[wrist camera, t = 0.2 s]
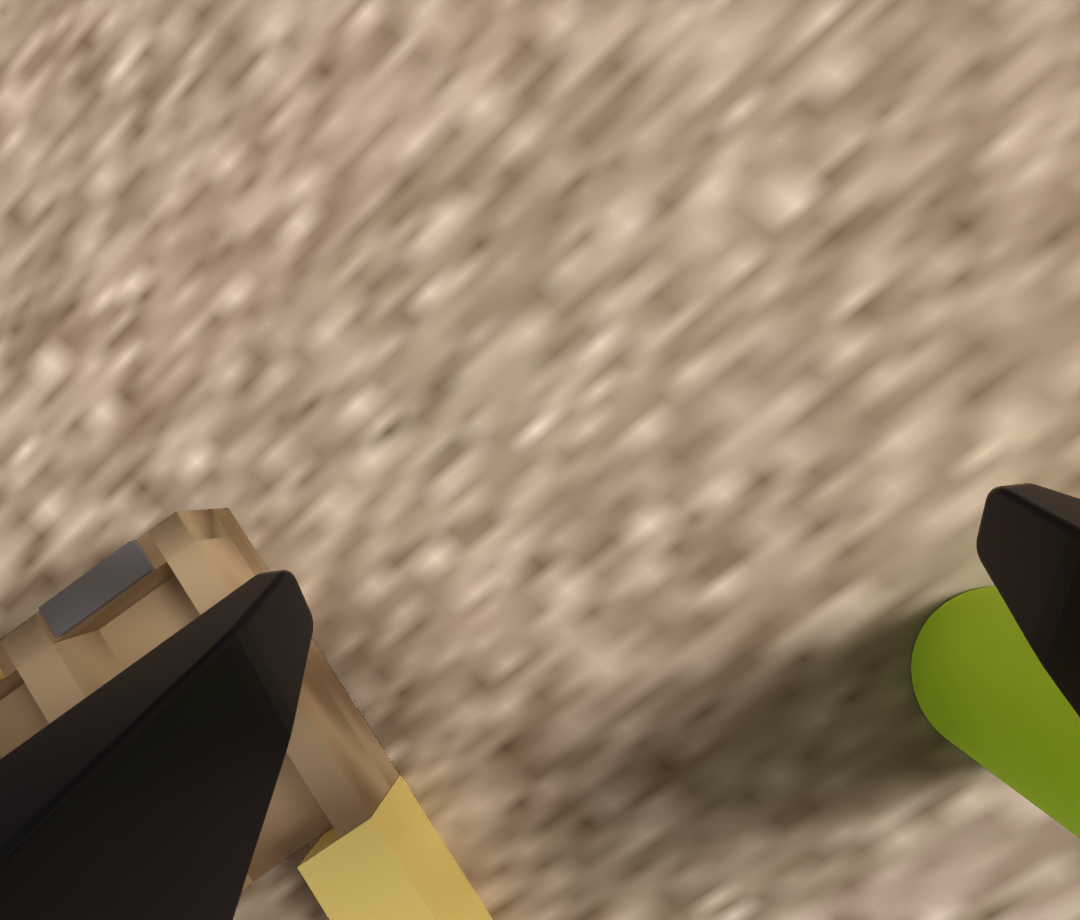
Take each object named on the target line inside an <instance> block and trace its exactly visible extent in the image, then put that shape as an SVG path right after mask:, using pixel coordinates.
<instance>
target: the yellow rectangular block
mask: <svg viewBox="0 0 1080 920" xmlns="http://www.w3.org/2000/svg"><path fill="white" fill-rule="evenodd" d="M297 868H298V870H299V871H300V873H301V874H302V876H303V878H304V879H305V881H306V882H307V884H308V886H309V887H310V889H311V891H312V892H313V894H314V895H315V897H316V899H317V900H318V902H319V904H320V905H321V907H322V908H323V910H324V912H325V913H326V915H327V917H328V918H329V920H493V919H492V917H491V916H490V914H489V913H488V911H487V910H486V908H485V907H484V905H483V903H482V902H481V900H480V899H479V897H478V896H477V894H476V892H475V891H474V889H473V888H472V886H471V885H470V883H469V882H468V880H467V878H466V877H465V875H464V874H463V872H462V871H461V869H460V868H459V866H458V864H457V863H456V861H455V860H454V858H453V857H452V855H451V853H450V852H449V850H448V849H447V847H446V846H445V844H444V843H443V841H442V839H441V838H440V836H439V835H438V833H437V832H436V830H435V829H434V827H433V825H432V824H431V822H430V821H429V819H428V818H427V816H426V814H425V813H424V811H423V810H422V808H421V807H420V805H419V804H418V802H417V800H416V799H415V797H414V796H413V794H412V793H411V791H410V790H409V788H408V786H407V785H406V783H405V782H404V780H403V779H402V777H401V776H400V775H399V776H398V777H397V779H396V780H395V782H394V783H393V785H392V786H391V788H390V789H389V791H388V792H387V793H386V795H385V796H384V798H383V799H382V801H381V802H380V804H379V805H378V807H377V808H376V810H375V811H374V813H373V814H372V816H371V817H370V818H369V819H368V820H366V821H365V822H363V823H362V824H360V825H359V826H357V827H356V828H354V829H353V830H351V831H350V832H348V833H347V834H345V835H344V836H342V837H341V838H340V837H339V835H338V834H337V832H336V830H335V829H334V827H332V828H330V829H329V830H327V831H326V832H325V833H324V834H323V835H322V836H321V838H320V839H319V840H318V842H317V843H316V844H315V845H314V847H313V848H312V849H311V851H310V852H309V853H308V854H307V856H306V857H305V858H304V859H303V861H302V862H301V863H300V865H299V866H298V867H297Z"/></svg>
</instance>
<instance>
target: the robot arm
mask: <svg viewBox="0 0 1080 920" xmlns="http://www.w3.org/2000/svg"><path fill="white" fill-rule="evenodd" d="M977 552H978V555H979V558H980V560H981V562H982V564H983V566H984V568H985V569H986V571H987V573H988V574H989V576H990V578H991V580H992V581H993V583H994V585H995V586H996V588H997V590H998V592H999V593H1000V595H1001V597H1002V598H1003V600H1004V602H1005V604H1006V605H1007V607H1008V609H1009V610H1010V612H1011V614H1012V616H1013V617H1014V619H1015V621H1016V622H1017V624H1018V626H1019V628H1020V629H1021V631H1022V633H1023V634H1024V636H1025V638H1026V640H1027V641H1028V643H1029V645H1030V646H1031V648H1032V650H1033V651H1034V653H1035V655H1036V656H1037V658H1038V659H1039V661H1040V662H1041V664H1042V666H1043V667H1044V669H1045V670H1046V671H1047V673H1048V674H1049V676H1050V677H1051V679H1052V680H1053V682H1054V683H1055V684H1056V686H1057V687H1058V689H1059V690H1060V691H1061V693H1062V694H1063V695H1064V697H1065V698H1066V700H1067V701H1068V702H1069V704H1070V705H1071V706H1072V708H1073V709H1074V710H1075V712H1076V713H1077V715H1078V716H1079V717H1080V499H1079V498H1075V497H1072V496H1069V495H1066V494H1063V493H1060V492H1057V491H1054V490H1051V489H1048V488H1044V487H1041V486H1038V485H1035V484H1028V483H1025V484H1016V485H1008V486H999V487H996V488H994V489H992V490H991V491H990V493H989V494H988V496H987V498H986V502H985V506H984V511H983V515H982V519H981V523H980V528H979V532H978V536H977ZM312 634H313V619H312V615H311V612H310V610H309V607H308V605H307V603H306V601H305V598H304V596H303V594H302V591H301V589H300V587H299V585H298V582H297V580H296V578H295V576H294V575H293V574H292V573H291V572H289V571H287V570H281V571H272V572H264V573H259V574H257V575H255V576H254V577H252V578H251V579H250V580H248V581H247V582H245V583H244V584H243V585H241V586H240V587H238V588H237V589H236V590H234V591H233V592H232V593H230V594H229V595H227V596H226V597H225V598H223V599H222V600H220V601H219V602H218V603H216V604H215V605H213V606H212V607H211V608H209V609H208V610H207V611H205V612H204V613H202V614H201V615H200V616H198V617H197V618H195V619H194V620H193V621H191V622H190V623H188V624H187V625H186V626H184V627H183V628H182V629H180V630H179V631H177V632H176V633H175V634H173V635H172V636H170V637H169V638H168V639H166V640H165V641H163V642H162V643H161V644H159V645H158V646H157V647H155V648H154V649H152V650H151V651H150V652H148V653H147V654H145V655H144V656H143V657H141V658H140V659H138V660H137V661H136V662H134V663H133V664H131V665H130V666H129V667H127V668H126V669H125V670H123V671H122V672H120V673H119V674H118V675H116V676H115V677H113V678H112V679H111V680H109V681H108V682H106V683H105V684H104V685H102V686H101V687H100V688H98V689H97V690H95V691H94V692H93V693H91V694H90V695H88V696H87V697H86V698H84V699H83V700H81V701H80V702H79V703H77V704H76V705H75V706H73V707H72V708H70V709H69V710H68V711H66V712H65V713H63V714H62V715H61V716H59V717H58V718H56V719H55V720H54V721H52V722H51V723H50V724H48V725H47V726H45V727H44V728H43V729H41V730H40V731H38V732H37V733H36V734H34V735H33V736H31V737H30V738H29V739H27V740H26V741H24V742H23V743H22V744H20V745H19V746H18V747H16V748H15V749H13V750H12V751H11V752H9V753H8V754H6V755H5V756H4V757H2V758H1V759H0V920H233V917H234V914H235V911H236V908H237V905H238V902H239V899H240V895H241V892H242V889H243V886H244V883H245V880H246V877H247V874H248V870H249V867H250V864H251V861H252V858H253V855H254V852H255V849H256V845H257V842H258V839H259V836H260V833H261V830H262V827H263V824H264V820H265V817H266V814H267V811H268V808H269V805H270V802H271V799H272V795H273V792H274V789H275V786H276V783H277V780H278V777H279V774H280V770H281V767H282V764H283V761H284V758H285V755H286V751H287V748H288V745H289V741H290V738H291V734H292V730H293V725H294V721H295V717H296V712H297V707H298V702H299V697H300V692H301V688H302V683H303V678H304V673H305V668H306V663H307V658H308V654H309V649H310V644H311V639H312Z"/></svg>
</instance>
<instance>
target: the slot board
mask: <svg viewBox="0 0 1080 920" xmlns="http://www.w3.org/2000/svg"><path fill="white" fill-rule="evenodd" d="M264 572H269V571H268V569H267V568H266V566H265V565H264V563H263V562H262V560H261V559H260V557H259V555H258V554H257V552H256V551H255V549H254V548H253V546H252V544H251V543H250V541H249V540H248V538H247V537H246V535H245V534H244V532H243V530H242V529H241V527H240V526H239V524H238V523H237V521H236V520H235V518H234V516H233V515H232V513H231V512H230V510H229V509H228V508H222V509H208V510H195V511H181V512H175V513H174V514H172V515H171V516H170V517H168V518H167V519H166V520H164V521H163V522H161V523H160V524H159V525H157V526H156V527H155V528H153V529H152V530H150V531H149V532H148V533H146V534H145V535H144V536H142V537H141V538H139V539H138V540H135V541H130V542H128V543H127V544H126V545H124V546H123V547H122V548H120V549H119V550H117V551H116V552H115V553H113V554H112V555H111V556H109V557H108V558H106V559H105V560H104V561H102V562H101V563H100V564H98V565H97V566H95V567H94V568H93V569H91V570H90V571H89V572H87V573H86V574H84V575H83V576H82V577H80V578H79V579H78V580H76V581H75V582H73V583H72V584H71V585H69V586H68V587H67V588H65V589H64V590H62V591H61V592H60V593H58V594H57V595H56V596H54V597H53V598H51V599H50V600H49V601H47V602H46V603H45V604H43V605H42V606H40V607H39V610H40V611H39V612H37V613H36V614H35V615H33V616H32V617H31V618H29V619H28V620H26V621H25V622H24V623H22V624H21V625H20V626H18V627H17V628H15V629H14V630H13V631H11V632H10V633H9V634H7V635H6V636H4V637H3V638H2V639H0V759H1V758H2V757H4V756H5V755H6V754H8V753H9V752H11V751H12V750H13V749H15V748H16V747H18V746H19V745H20V744H22V743H23V742H24V741H26V740H27V739H29V738H30V737H31V736H33V735H34V734H36V733H37V732H38V731H40V730H41V729H43V728H44V727H45V726H47V725H48V724H50V723H51V722H52V721H54V720H55V719H56V718H58V717H59V716H61V715H62V714H63V713H65V712H66V711H68V710H69V709H70V708H72V707H73V706H75V705H76V704H77V703H79V702H80V701H81V700H83V699H84V698H86V697H87V696H88V695H90V694H91V693H93V692H94V691H95V690H97V689H98V688H100V687H101V686H102V685H104V684H105V683H106V682H108V681H109V680H111V679H112V678H113V677H115V676H116V675H118V674H119V673H120V672H122V671H123V670H125V669H126V668H127V667H129V666H130V665H131V664H133V663H134V662H136V661H137V660H138V659H140V658H141V657H143V656H144V655H145V654H147V653H148V652H150V651H151V650H152V649H154V648H155V647H157V646H158V645H159V644H161V643H162V642H163V641H165V640H166V639H168V638H169V637H170V636H172V635H173V634H175V633H176V632H177V631H179V630H180V629H182V628H183V627H184V626H186V625H187V624H188V623H190V622H191V621H193V620H194V619H195V618H197V617H198V616H200V615H201V614H202V613H204V612H205V611H207V610H208V609H209V608H211V607H212V606H213V605H215V604H216V603H218V602H219V601H220V600H222V599H223V598H225V597H226V596H227V595H229V594H230V593H232V592H233V591H234V590H236V589H237V588H238V587H240V586H241V585H243V584H244V583H245V582H247V581H248V580H250V579H251V578H252V577H254V576H255V575H257V574H259V573H264ZM398 776H399V774H398V772H397V770H396V769H395V767H394V766H393V764H392V763H391V761H390V760H389V758H388V756H387V755H386V753H385V752H384V750H383V749H382V747H381V746H380V744H379V742H378V741H377V739H376V738H375V736H374V735H373V733H372V732H371V730H370V728H369V727H368V725H367V724H366V722H365V721H364V719H363V717H362V716H361V714H360V713H359V711H358V710H357V708H356V707H355V705H354V703H353V702H352V700H351V699H350V697H349V696H348V694H347V693H346V691H345V689H344V688H343V686H342V685H341V683H340V682H339V680H338V679H337V677H336V675H335V674H334V672H333V671H332V669H331V668H330V666H329V664H328V663H327V661H326V660H325V658H324V657H323V655H322V654H321V652H320V650H319V649H318V647H317V646H316V644H315V643H314V641H313V640H312V639H311V644H310V649H309V654H308V658H307V663H306V668H305V673H304V678H303V683H302V688H301V692H300V697H299V702H298V707H297V712H296V717H295V721H294V725H293V730H292V734H291V738H290V741H289V745H288V748H287V751H286V755H285V758H284V761H283V764H282V767H281V770H280V774H279V777H278V780H277V783H276V786H275V789H274V792H273V795H272V799H271V802H270V805H269V808H268V811H267V814H266V817H265V820H264V824H263V827H262V830H261V833H260V836H259V839H258V842H257V845H256V849H255V852H254V855H253V858H252V861H251V864H250V867H249V870H248V874H247V877H246V880H245V883H244V886H243V889H242V892H241V894H242V893H243V891H244V890H245V889H246V888H247V887H248V886H249V884H250V883H251V882H252V881H253V880H255V879H256V878H258V877H259V876H261V875H262V874H264V873H265V872H267V871H268V870H270V869H271V868H273V867H274V866H276V865H277V864H279V863H280V862H281V861H283V860H284V859H286V858H287V857H289V856H290V855H292V854H293V853H295V852H296V851H298V850H299V849H301V848H302V847H304V846H305V845H307V844H308V843H310V842H311V841H313V840H314V839H315V838H317V837H318V836H320V835H321V834H323V833H324V832H326V831H327V830H329V829H330V828H332V827H334V829H335V830H336V832H337V834H338V835H339V837H340V838H341V837H342V836H344V835H345V834H347V833H348V832H350V831H351V830H353V829H354V828H356V827H357V826H359V825H360V824H362V823H363V822H365V821H366V820H368V819H369V818H370V817H371V816H372V814H373V813H374V811H375V810H376V808H377V807H378V805H379V804H380V802H381V801H382V799H383V798H384V796H385V795H386V793H387V792H388V791H389V789H390V788H391V786H392V785H393V783H394V782H395V780H396V779H397V777H398Z"/></svg>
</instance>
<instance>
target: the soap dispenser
mask: <svg viewBox="0 0 1080 920" xmlns="http://www.w3.org/2000/svg"><path fill="white" fill-rule="evenodd" d="M911 677H912V684H913V689H914V692H915V696H916V698H917V701H918V703H919V705H920V708H921V709H922V711H923V713H924V715H925V716H926V718H927V719H928V721H929V722H930V723H931V724H932V726H933V727H934V728H935V729H936V730H937V731H938V732H939V733H940V734H941V735H942V736H943V737H944V738H946V739H947V740H948V741H950V742H951V743H952V744H954V745H955V746H956V747H958V748H959V749H960V750H962V751H963V752H964V753H966V754H967V755H968V756H970V757H971V758H972V759H974V760H975V761H976V762H978V763H979V764H980V765H982V766H983V767H984V768H986V769H987V770H988V771H990V772H991V773H993V774H994V775H995V776H997V777H998V778H999V779H1001V780H1002V781H1003V782H1005V783H1006V784H1007V785H1009V786H1010V787H1011V788H1013V789H1014V790H1015V791H1017V792H1018V793H1019V794H1021V795H1022V796H1023V797H1025V798H1026V799H1027V800H1029V801H1030V802H1031V803H1033V804H1034V805H1035V806H1037V807H1038V808H1040V809H1041V810H1042V811H1044V812H1045V813H1046V814H1048V815H1049V816H1050V817H1052V818H1053V819H1054V820H1056V821H1057V822H1058V823H1060V824H1061V825H1062V826H1064V827H1065V828H1066V829H1068V830H1069V831H1070V832H1072V833H1073V834H1074V835H1076V836H1077V837H1078V838H1080V717H1079V716H1078V715H1077V713H1076V712H1075V710H1074V709H1073V708H1072V706H1071V705H1070V704H1069V702H1068V701H1067V700H1066V698H1065V697H1064V695H1063V694H1062V693H1061V691H1060V690H1059V689H1058V687H1057V686H1056V684H1055V683H1054V682H1053V680H1052V679H1051V677H1050V676H1049V674H1048V673H1047V671H1046V670H1045V669H1044V667H1043V666H1042V664H1041V662H1040V661H1039V659H1038V658H1037V656H1036V655H1035V653H1034V651H1033V650H1032V648H1031V646H1030V645H1029V643H1028V641H1027V640H1026V638H1025V636H1024V634H1023V633H1022V631H1021V629H1020V628H1019V626H1018V624H1017V622H1016V621H1015V619H1014V617H1013V616H1012V614H1011V612H1010V610H1009V609H1008V607H1007V605H1006V604H1005V602H1004V600H1003V598H1002V597H1001V595H1000V593H999V592H998V590H997V588H996V586H993V587H983V588H978V589H974V590H970V591H967V592H965V593H962V594H960V595H958V596H956V597H954V598H952V599H950V600H949V601H947V602H946V603H944V604H943V605H942V606H940V607H939V608H938V609H937V610H936V611H935V612H934V613H933V614H932V615H931V616H930V617H929V619H928V620H927V621H926V623H925V624H924V626H923V627H922V629H921V631H920V633H919V635H918V637H917V639H916V642H915V645H914V649H913V653H912V660H911Z"/></svg>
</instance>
